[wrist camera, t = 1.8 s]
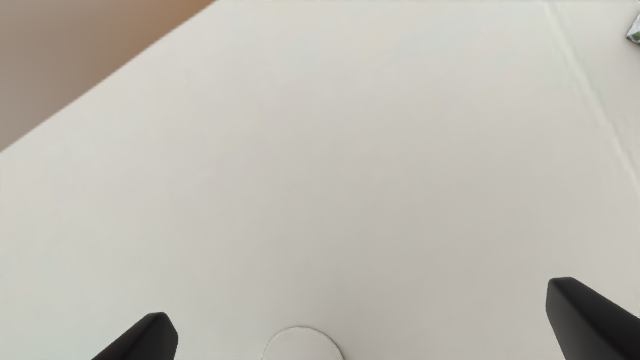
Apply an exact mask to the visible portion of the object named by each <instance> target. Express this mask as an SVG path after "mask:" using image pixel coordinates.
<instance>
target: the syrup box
mask: <svg viewBox="0 0 640 360" xmlns="http://www.w3.org/2000/svg"><path fill="white" fill-rule="evenodd" d="M626 38H627V39H629V40H631V41H633V42H635V43H638V44H640V14H639V15H638V17H637V19H636V20H635V22H634V24H633V25H632V27H631V29H630V30H629V32H628V34H627V35H626Z"/></svg>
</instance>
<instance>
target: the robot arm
mask: <svg viewBox="0 0 640 360" xmlns="http://www.w3.org/2000/svg"><path fill="white" fill-rule="evenodd" d="M546 312H547V316H548V319H549V321H550V323H551V326H552V328H553V331H554V333H555V335H556V338H557V340H558V343H559V345H560V347H561V350H562V352H563V355H564V357H565V359H566V360H640V319H639V318H637V317H636V316H634V315H633V314H631V313H629V312H628V311H626V310H625V309H623V308H621V307H620V306H618V305H616V304H615V303H613V302H612V301H610V300H608V299H607V298H605V297H604V296H602V295H600V294H599V293H597V292H596V291H594V290H592V289H591V288H589V287H588V286H586V285H584V284H583V283H581V282H580V281H578V280H576V279H574V278H572V277H561V278H552V279H550V280H549V282H548V288H547V298H546ZM177 345H178V334H177V331H176V330H175V328H174V326H173V324H172V323H171V321H170V319H169V317H168V316H167V314H165V313H164V312H158V313H150V314H147V315H146V316H144V317H143V318H142V319H141V320H139V321H138V322H137V323H136V324H135V325H133V326H132V327H131V328H130V329H128V330H127V331H126V332H125V333H123V334H122V335H121V336H120V337H119V338H117V339H116V340H115V341H114V342H112V343H111V344H110V345H109V346H108V347H106V348H105V349H104V350H103V351H101V352H100V353H99V354H98V355H97V356H95V357H94V358H93V359H92V360H174V356H175V352H176V348H177Z"/></svg>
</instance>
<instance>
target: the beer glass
mask: <svg viewBox="0 0 640 360" xmlns="http://www.w3.org/2000/svg"><path fill="white" fill-rule="evenodd" d="M261 360H343V357H342V355H341V353H340V351H339V349H338V348H337V346H336V345H335V344H334V343H333V341H332V340H330V339H329V338H328V337H327V336H326V335H324V334H322V333H321V332H319V331H316V330H314V329H310V328H305V327H293V328H288V329H285V330H283V331H281V332H279V333H278V334H276V335H275V336H274V337H273V338H272V339H271V340H270V341H269V342H268V344H267V345H266V347H265V349H264V352H263V354H262V358H261Z"/></svg>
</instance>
